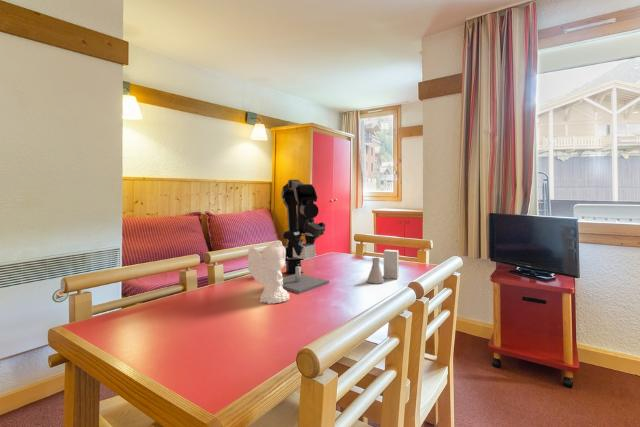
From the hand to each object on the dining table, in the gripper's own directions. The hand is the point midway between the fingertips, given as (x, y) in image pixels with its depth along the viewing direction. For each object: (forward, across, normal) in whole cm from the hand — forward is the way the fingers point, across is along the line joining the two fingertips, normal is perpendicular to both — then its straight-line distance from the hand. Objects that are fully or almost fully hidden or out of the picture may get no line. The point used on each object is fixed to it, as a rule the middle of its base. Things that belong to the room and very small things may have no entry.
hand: (304, 254), depth 135 cm
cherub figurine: (+12, -20, -2) cm, 24 cm away
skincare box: (+13, +32, -23) cm, 42 cm away
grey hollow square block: (+1, 0, 0) cm, 1 cm away
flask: (+13, +22, -21) cm, 33 cm away
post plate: (+13, 0, +3) cm, 13 cm away
